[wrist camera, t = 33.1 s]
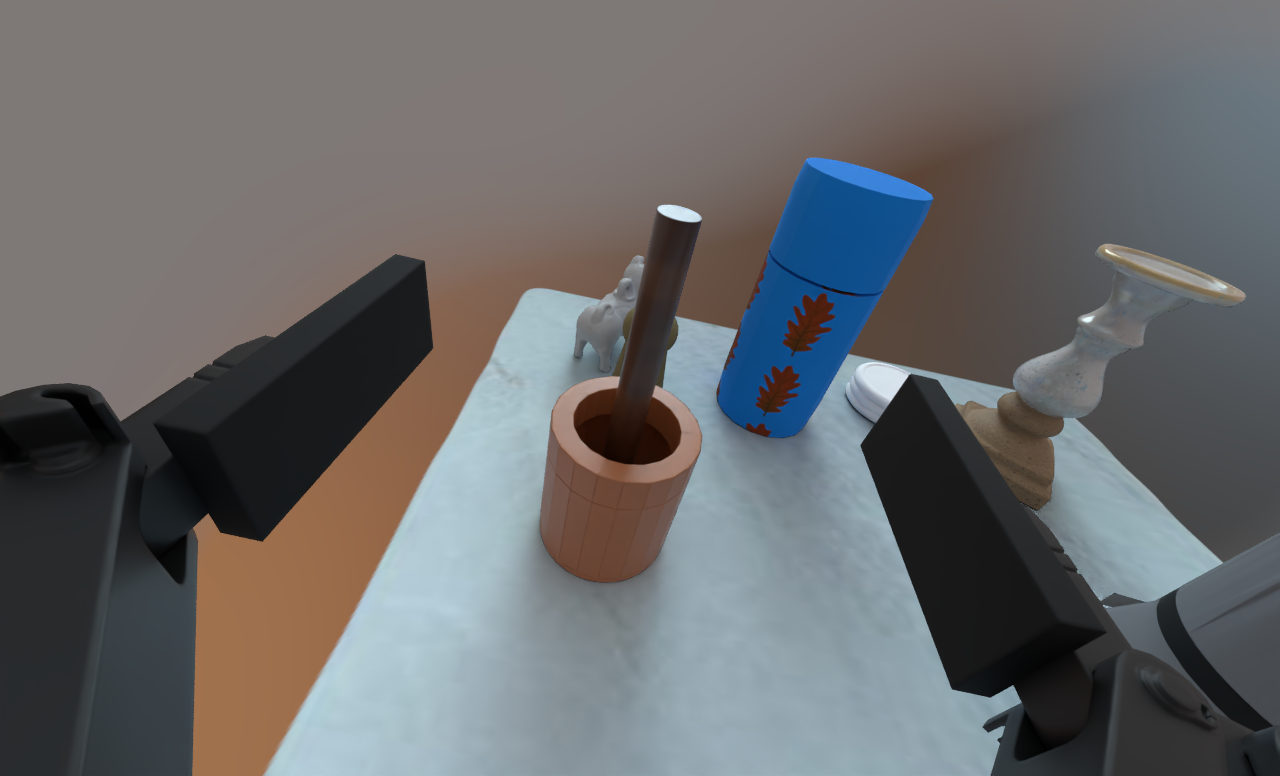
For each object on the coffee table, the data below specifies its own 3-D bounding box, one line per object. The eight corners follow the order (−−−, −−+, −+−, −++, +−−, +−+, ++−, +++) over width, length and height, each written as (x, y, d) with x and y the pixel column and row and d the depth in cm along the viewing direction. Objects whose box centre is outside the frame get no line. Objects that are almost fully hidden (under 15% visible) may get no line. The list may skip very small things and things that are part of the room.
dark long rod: (642, 524, 37) (743, 226, 22) (599, 554, 34) (682, 236, 19) (606, 487, 39) (677, 194, 24) (563, 513, 36) (614, 199, 21)
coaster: (883, 379, 64) (897, 358, 62) (941, 429, 57) (958, 408, 55) (828, 384, 60) (840, 362, 58) (882, 438, 53) (898, 416, 51)
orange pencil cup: (687, 536, 37) (731, 440, 31) (593, 610, 31) (622, 511, 25) (609, 459, 42) (632, 362, 35) (514, 511, 36) (520, 405, 29)
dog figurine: (658, 337, 60) (679, 261, 54) (602, 379, 51) (619, 292, 45) (625, 320, 62) (641, 244, 56) (564, 358, 53) (575, 271, 46)
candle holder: (947, 412, 60) (1092, 233, 46) (1040, 460, 56) (1233, 279, 41) (932, 453, 53) (1101, 255, 38) (1039, 512, 48) (1276, 314, 34)
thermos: (708, 419, 49) (805, 172, 34) (719, 366, 58) (801, 150, 43) (808, 451, 49) (953, 212, 33) (805, 393, 57) (919, 181, 42)
